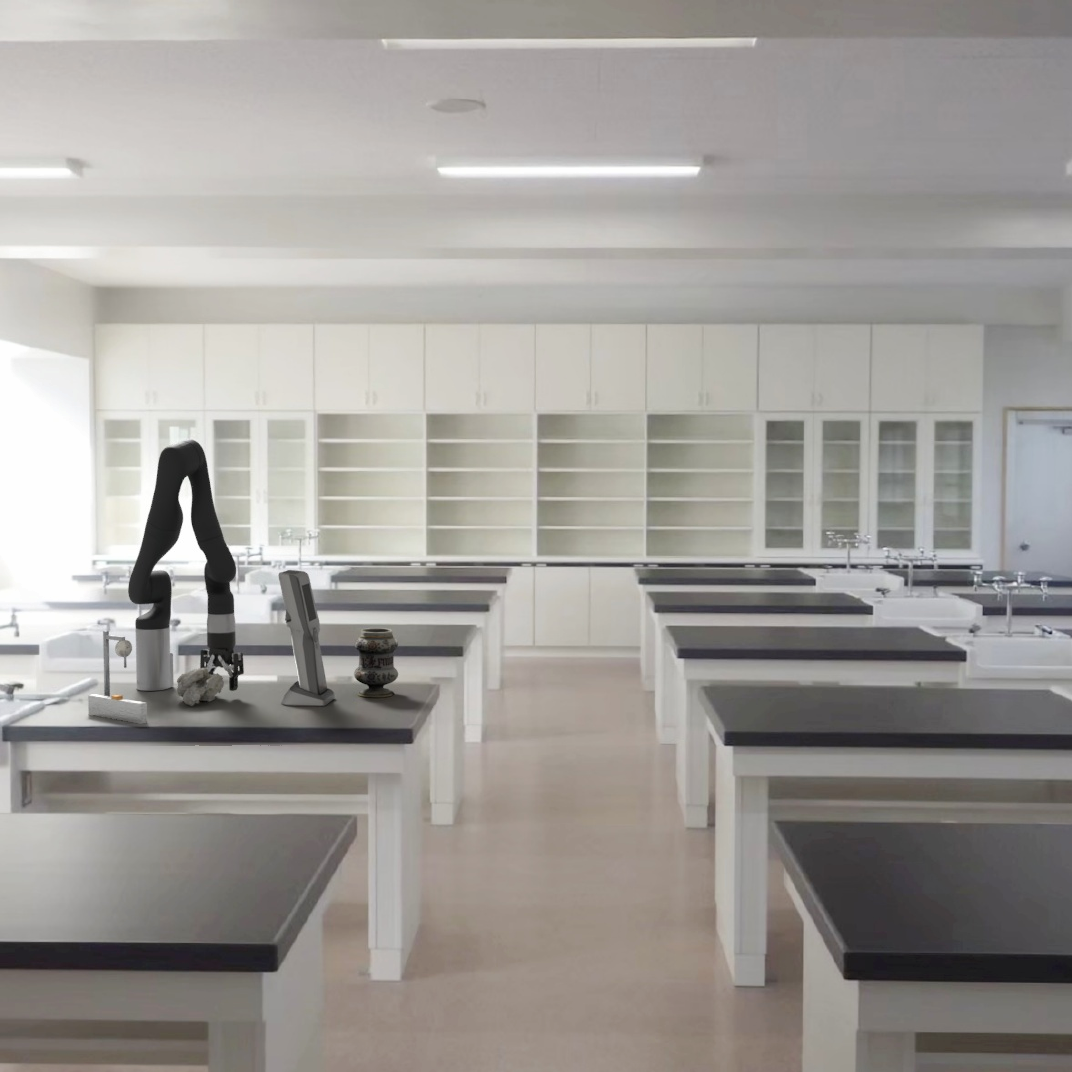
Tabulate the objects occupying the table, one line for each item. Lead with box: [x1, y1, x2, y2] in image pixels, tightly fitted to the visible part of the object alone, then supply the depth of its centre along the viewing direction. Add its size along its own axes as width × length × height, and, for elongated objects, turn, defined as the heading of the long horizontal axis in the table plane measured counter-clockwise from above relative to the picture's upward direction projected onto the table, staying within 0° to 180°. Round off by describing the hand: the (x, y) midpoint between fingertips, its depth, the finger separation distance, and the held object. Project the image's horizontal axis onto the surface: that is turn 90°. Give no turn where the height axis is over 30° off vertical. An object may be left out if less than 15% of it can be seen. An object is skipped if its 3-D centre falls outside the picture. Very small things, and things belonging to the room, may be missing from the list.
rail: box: [87, 693, 148, 725], centre depth 316 cm, size 2×20×6 cm, turn 57°
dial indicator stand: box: [102, 630, 133, 697], centre depth 332 cm, size 6×11×20 cm, turn 57°
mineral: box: [176, 667, 225, 707], centre depth 338 cm, size 12×17×10 cm
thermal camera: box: [277, 569, 336, 707], centre depth 337 cm, size 12×13×35 cm
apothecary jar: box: [353, 627, 399, 699], centre depth 348 cm, size 12×12×18 cm
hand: (222, 688), depth 345 cm, fingers open, 8 cm apart
